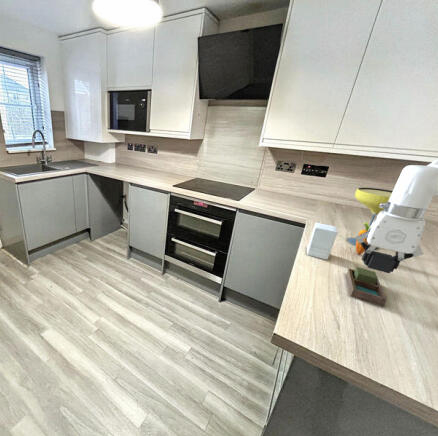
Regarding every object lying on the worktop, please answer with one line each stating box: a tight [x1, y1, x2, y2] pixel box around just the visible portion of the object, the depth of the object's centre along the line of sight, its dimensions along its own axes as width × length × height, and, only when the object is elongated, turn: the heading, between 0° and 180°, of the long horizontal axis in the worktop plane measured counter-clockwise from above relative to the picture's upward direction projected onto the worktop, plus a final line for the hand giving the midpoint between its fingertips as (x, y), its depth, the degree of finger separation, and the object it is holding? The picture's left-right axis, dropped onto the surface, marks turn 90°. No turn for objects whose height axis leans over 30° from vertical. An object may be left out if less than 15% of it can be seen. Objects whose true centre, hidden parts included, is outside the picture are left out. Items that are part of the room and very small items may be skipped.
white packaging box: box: [306, 222, 338, 260], centre depth 98 cm, size 7×7×13 cm
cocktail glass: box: [347, 187, 393, 250], centre depth 106 cm, size 18×18×25 cm
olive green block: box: [353, 266, 379, 285], centre depth 80 cm, size 5×5×4 cm
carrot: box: [355, 222, 371, 255], centre depth 98 cm, size 5×5×15 cm
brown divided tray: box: [346, 268, 387, 307], centre depth 78 cm, size 8×15×3 cm, turn 146°
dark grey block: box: [366, 250, 395, 274], centre depth 71 cm, size 5×5×4 cm
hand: (377, 265), depth 72 cm, fingers closed on dark grey block, 5 cm apart
